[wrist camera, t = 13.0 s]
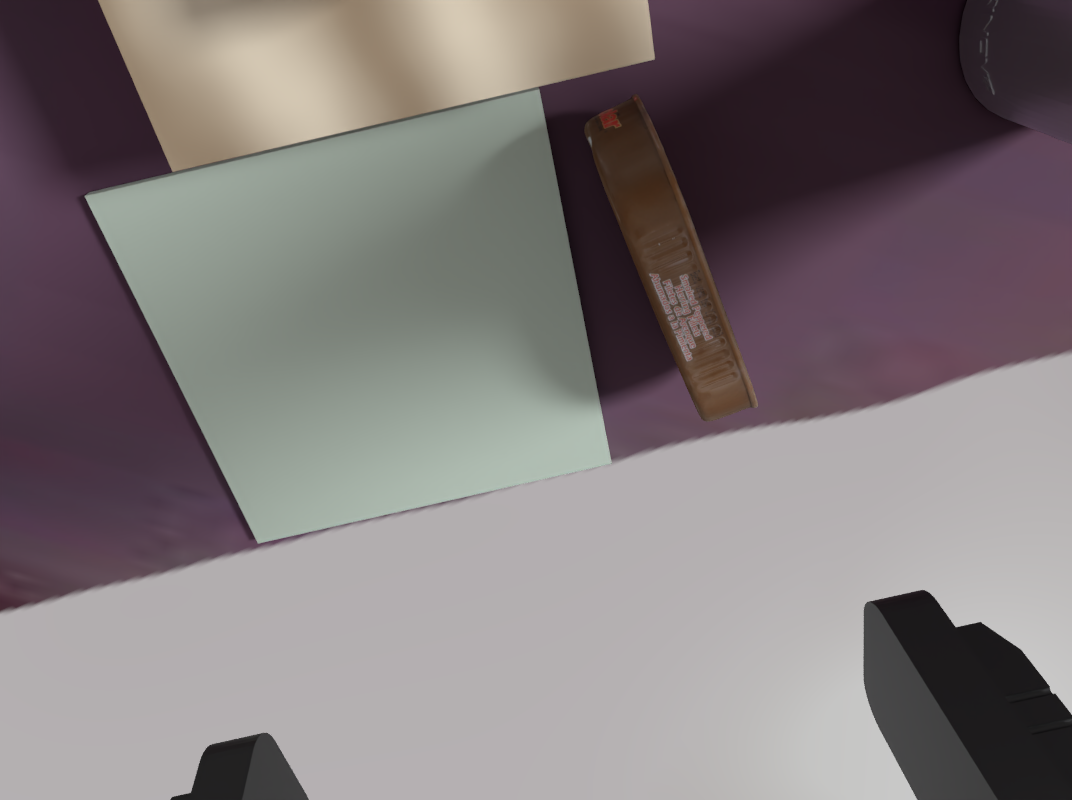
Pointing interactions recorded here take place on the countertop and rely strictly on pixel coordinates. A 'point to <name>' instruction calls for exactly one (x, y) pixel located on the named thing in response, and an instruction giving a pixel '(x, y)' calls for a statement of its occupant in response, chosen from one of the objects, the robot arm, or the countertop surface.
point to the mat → (370, 314)
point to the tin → (669, 258)
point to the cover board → (350, 62)
